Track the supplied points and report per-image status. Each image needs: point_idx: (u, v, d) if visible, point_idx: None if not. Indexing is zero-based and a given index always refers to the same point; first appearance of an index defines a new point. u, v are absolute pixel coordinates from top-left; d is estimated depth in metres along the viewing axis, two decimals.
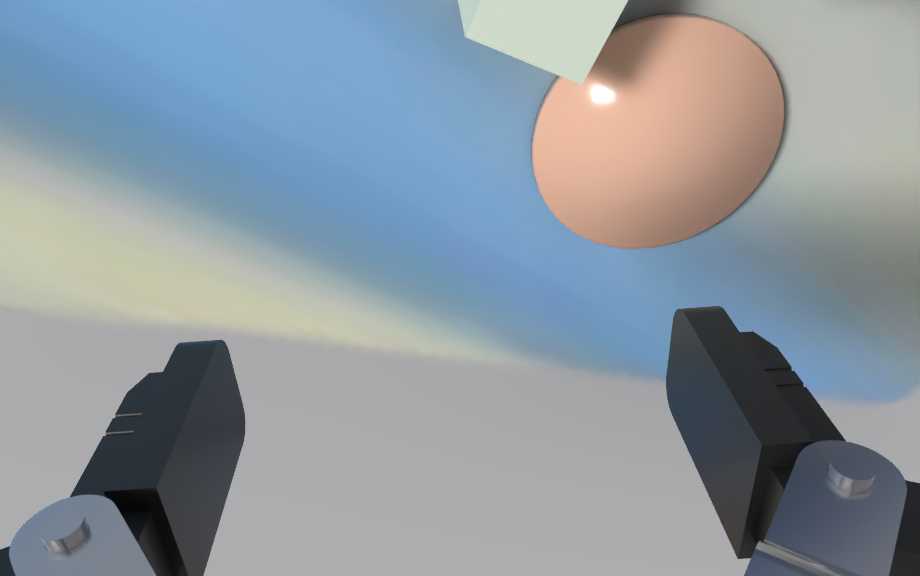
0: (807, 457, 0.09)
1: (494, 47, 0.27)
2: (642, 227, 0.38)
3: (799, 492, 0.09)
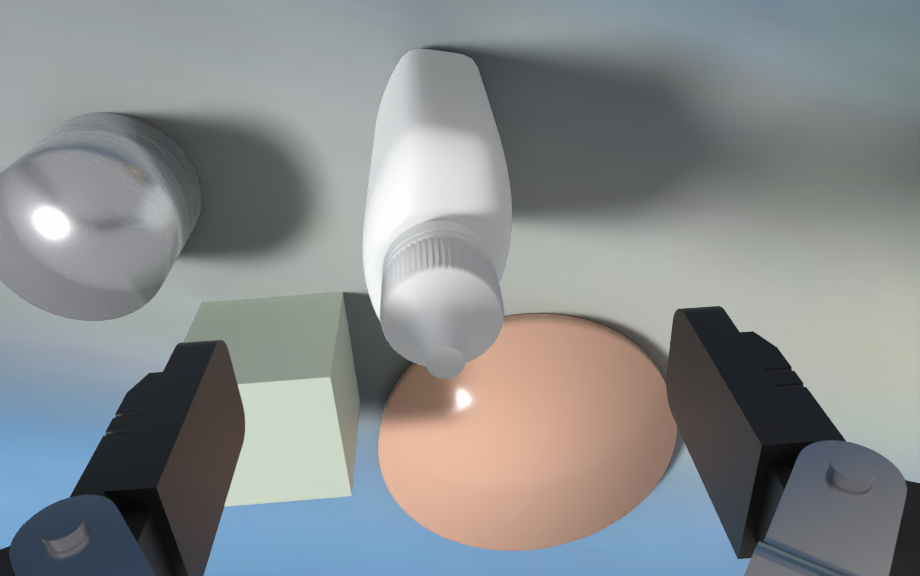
0: (807, 457, 0.09)
1: (236, 504, 0.24)
2: (571, 519, 0.32)
3: (799, 492, 0.09)
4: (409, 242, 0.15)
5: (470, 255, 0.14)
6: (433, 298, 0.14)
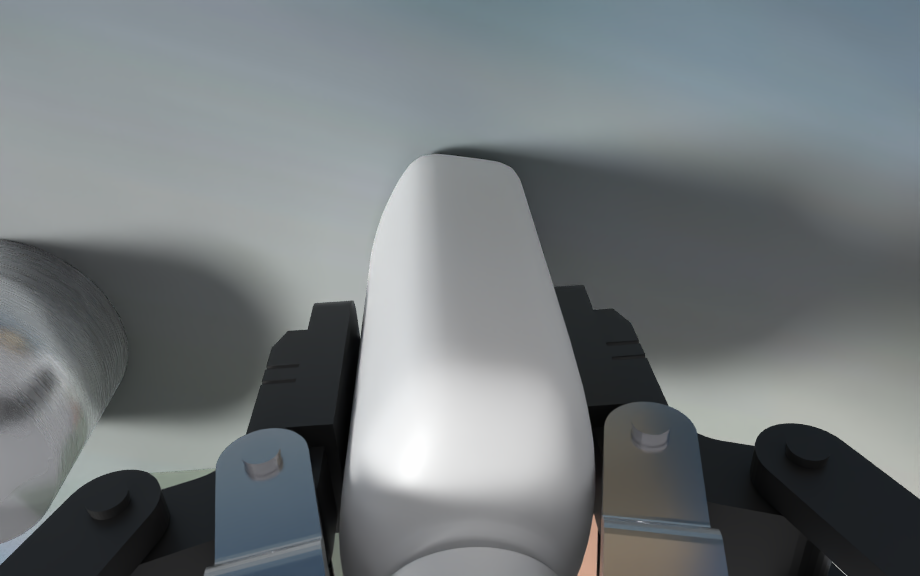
0: (611, 425, 0.10)
1: None
2: None
3: (616, 460, 0.09)
4: None
5: None
6: None
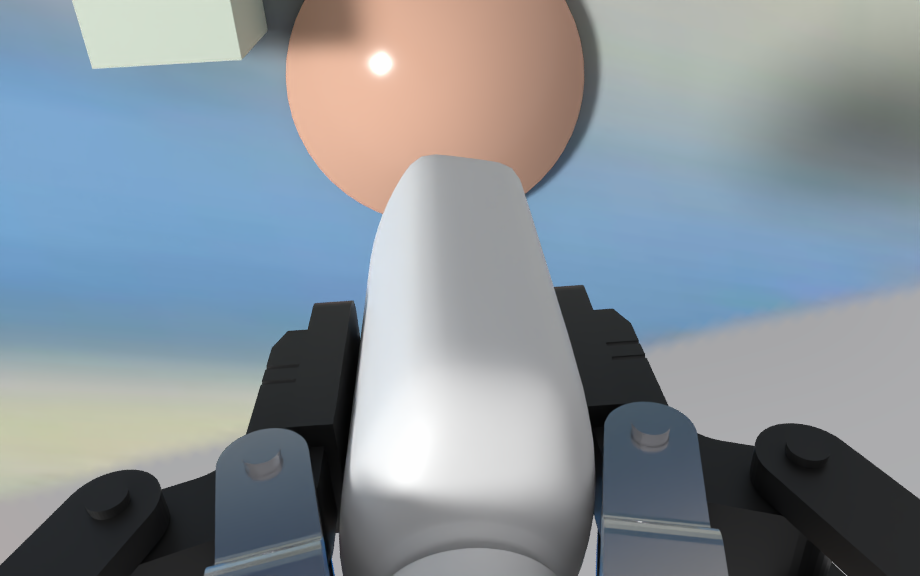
0: (612, 425, 0.10)
1: (127, 65, 0.25)
2: None
3: (616, 460, 0.09)
4: None
5: None
6: None
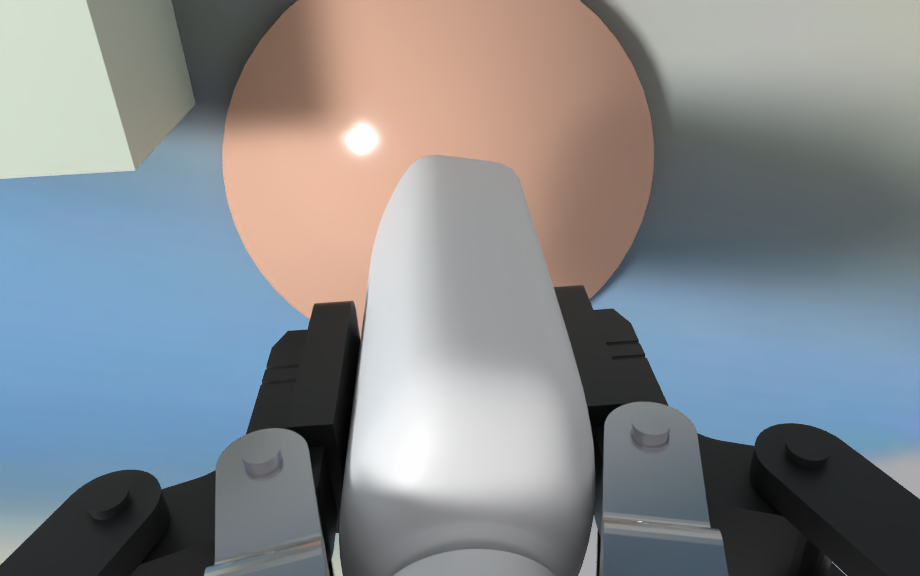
0: (611, 426, 0.10)
1: None
2: None
3: (616, 460, 0.09)
4: None
5: None
6: None
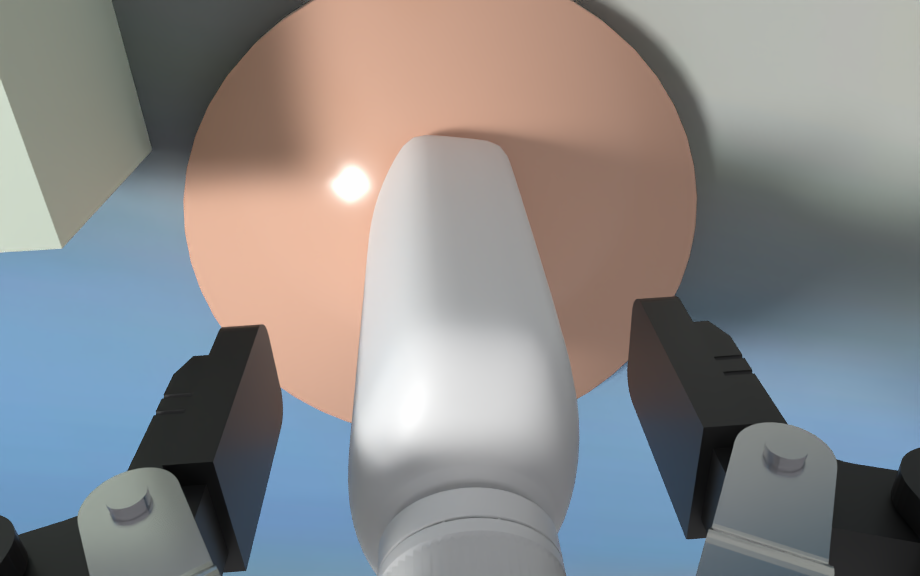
0: (744, 442, 0.09)
1: None
2: None
3: (739, 476, 0.09)
4: (421, 540, 0.09)
5: None
6: None
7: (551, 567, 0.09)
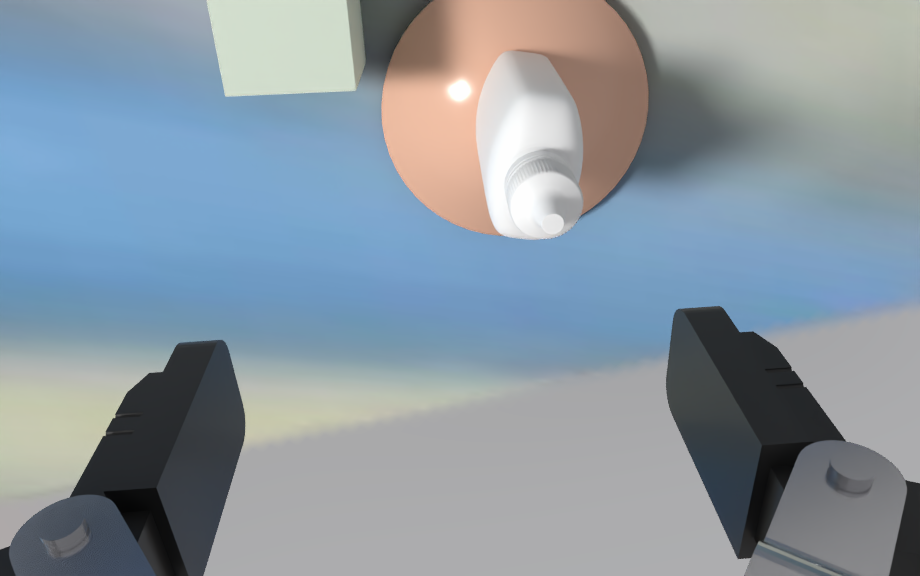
0: (807, 456, 0.09)
1: (255, 93, 0.28)
2: None
3: (799, 492, 0.09)
4: (524, 162, 0.24)
5: (563, 168, 0.24)
6: (543, 191, 0.23)
7: (571, 173, 0.24)
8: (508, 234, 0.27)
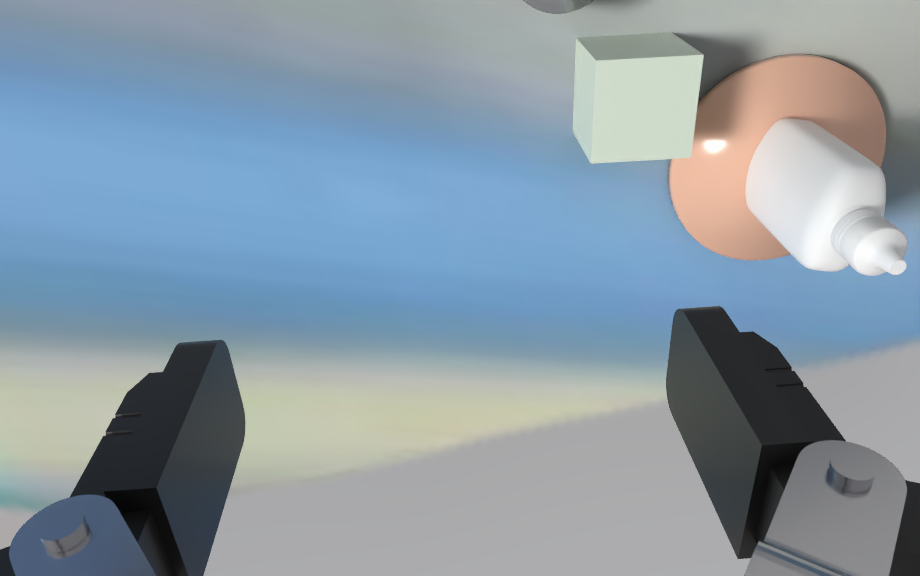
0: (807, 457, 0.09)
1: (614, 161, 0.36)
2: None
3: (799, 492, 0.09)
4: (857, 218, 0.32)
5: (890, 223, 0.32)
6: (883, 242, 0.31)
7: None
8: (816, 268, 0.36)
